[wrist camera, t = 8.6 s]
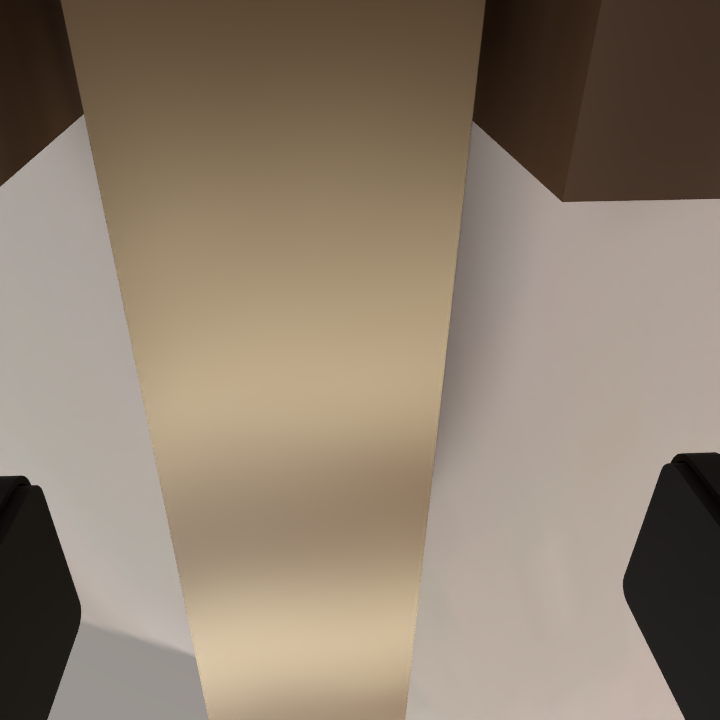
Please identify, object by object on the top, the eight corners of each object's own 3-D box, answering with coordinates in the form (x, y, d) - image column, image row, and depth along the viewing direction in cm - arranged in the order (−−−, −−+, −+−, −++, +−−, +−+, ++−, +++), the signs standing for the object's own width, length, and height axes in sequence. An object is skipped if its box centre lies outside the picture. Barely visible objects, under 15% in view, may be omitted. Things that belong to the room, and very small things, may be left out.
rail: (134, -192, 9) (-5, -323, 5) (404, -180, 10) (518, -290, 5) (234, 567, 18) (219, 773, 14) (371, 558, 19) (401, 755, 14)
